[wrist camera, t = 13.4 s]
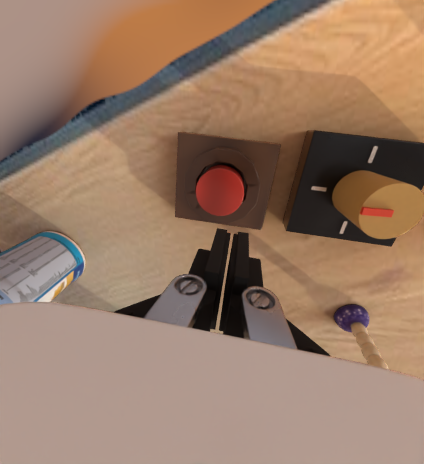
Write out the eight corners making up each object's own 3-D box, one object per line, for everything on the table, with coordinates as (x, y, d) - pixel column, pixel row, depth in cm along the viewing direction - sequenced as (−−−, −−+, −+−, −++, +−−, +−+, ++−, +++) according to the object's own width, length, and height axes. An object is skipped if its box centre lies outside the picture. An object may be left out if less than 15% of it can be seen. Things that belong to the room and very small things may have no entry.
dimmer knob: (389, 172, 20) (441, 186, 15) (372, 216, 22) (413, 243, 17) (339, 168, 20) (372, 181, 15) (326, 212, 22) (352, 238, 17)
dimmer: (423, 143, 21) (447, 145, 19) (378, 236, 25) (392, 247, 23) (307, 130, 22) (315, 130, 19) (282, 222, 26) (286, 231, 24)
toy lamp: (326, 325, 32) (402, 501, 17) (333, 300, 30) (427, 473, 15) (362, 328, 31) (474, 513, 16) (372, 302, 29) (510, 486, 14)
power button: (247, 168, 20) (248, 171, 19) (240, 212, 22) (239, 219, 21) (201, 162, 21) (197, 165, 19) (197, 206, 23) (193, 212, 21)
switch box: (277, 143, 23) (284, 145, 19) (260, 223, 26) (263, 238, 23) (183, 131, 23) (172, 132, 20) (179, 211, 27) (169, 223, 23)
